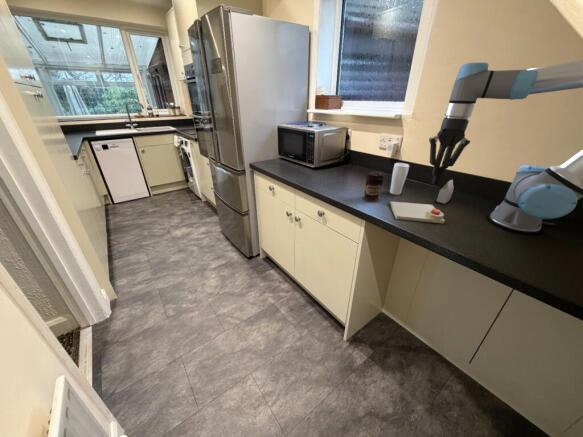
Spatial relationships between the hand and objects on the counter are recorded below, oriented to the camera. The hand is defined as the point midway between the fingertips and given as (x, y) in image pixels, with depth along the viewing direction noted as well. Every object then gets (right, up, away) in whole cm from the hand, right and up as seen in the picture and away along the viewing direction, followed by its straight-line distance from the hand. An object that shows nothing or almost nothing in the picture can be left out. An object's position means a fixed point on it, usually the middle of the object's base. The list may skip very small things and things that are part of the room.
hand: (434, 183), depth 90 cm
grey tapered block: (+17, -5, +22) cm, 28 cm away
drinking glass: (-2, -1, +30) cm, 30 cm away
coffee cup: (-17, -5, +22) cm, 28 cm away
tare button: (+2, -12, +4) cm, 13 cm away
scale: (-3, -11, +10) cm, 15 cm away
